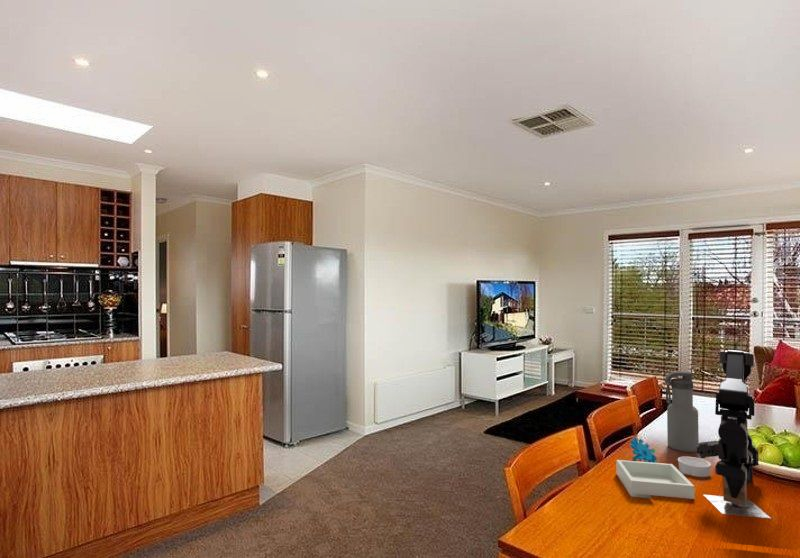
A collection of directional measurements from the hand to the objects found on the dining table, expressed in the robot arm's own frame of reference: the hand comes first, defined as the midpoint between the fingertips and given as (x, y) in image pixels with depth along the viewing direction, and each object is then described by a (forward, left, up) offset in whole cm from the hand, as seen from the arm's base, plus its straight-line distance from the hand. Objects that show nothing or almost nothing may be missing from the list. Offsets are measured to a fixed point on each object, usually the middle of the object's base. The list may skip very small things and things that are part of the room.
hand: (735, 494), depth 119 cm
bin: (+17, -10, -4) cm, 20 cm away
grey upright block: (0, 0, -2) cm, 2 cm away
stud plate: (0, 0, -4) cm, 4 cm away
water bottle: (-5, -49, -4) cm, 49 cm away
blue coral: (+13, -30, -4) cm, 33 cm away
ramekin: (+1, -23, -4) cm, 23 cm away
